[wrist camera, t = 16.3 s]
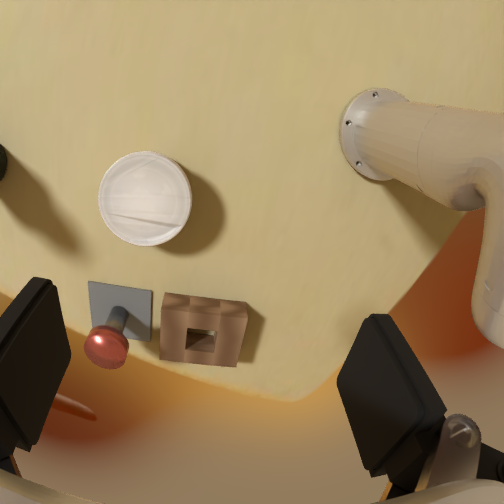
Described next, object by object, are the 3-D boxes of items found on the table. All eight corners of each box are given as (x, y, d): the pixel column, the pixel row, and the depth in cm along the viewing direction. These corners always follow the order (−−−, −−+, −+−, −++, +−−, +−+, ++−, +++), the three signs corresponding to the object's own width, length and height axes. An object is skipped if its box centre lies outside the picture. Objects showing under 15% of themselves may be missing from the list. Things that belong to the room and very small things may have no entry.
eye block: (245, 302, 47) (248, 318, 44) (234, 350, 52) (236, 367, 48) (164, 292, 45) (161, 308, 42) (162, 342, 49) (159, 359, 46)
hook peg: (100, 294, 44) (81, 332, 36) (137, 300, 45) (124, 340, 37) (103, 325, 47) (87, 364, 38) (138, 331, 48) (126, 372, 39)
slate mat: (151, 290, 45) (151, 291, 45) (150, 340, 49) (150, 341, 49) (88, 280, 43) (87, 281, 43) (93, 331, 47) (93, 332, 47)
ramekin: (132, 241, 41) (122, 259, 37) (97, 167, 36) (82, 177, 32) (207, 213, 41) (206, 228, 36) (176, 132, 36) (169, 136, 31)
